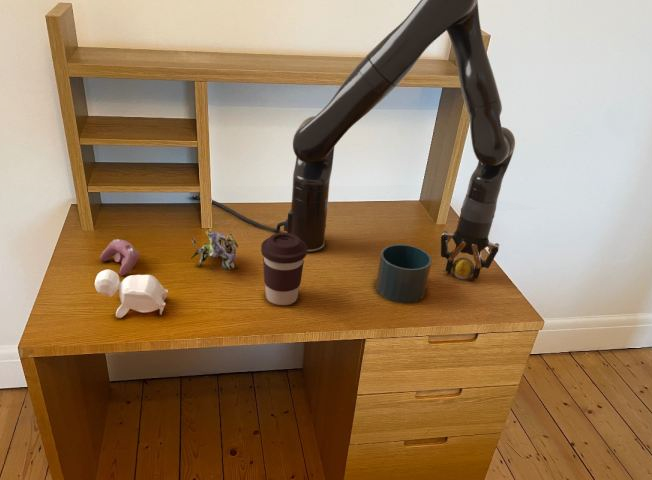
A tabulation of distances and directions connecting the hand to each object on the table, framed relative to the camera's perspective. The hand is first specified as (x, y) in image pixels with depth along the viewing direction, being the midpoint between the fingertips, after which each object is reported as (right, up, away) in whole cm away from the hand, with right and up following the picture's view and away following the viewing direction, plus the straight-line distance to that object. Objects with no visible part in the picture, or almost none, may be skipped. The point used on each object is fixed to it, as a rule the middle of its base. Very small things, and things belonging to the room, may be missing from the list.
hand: (461, 275), depth 145 cm
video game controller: (-83, +2, -5) cm, 83 cm away
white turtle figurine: (-76, -7, -18) cm, 79 cm away
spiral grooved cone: (0, -1, 0) cm, 1 cm away
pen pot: (-16, -3, -6) cm, 17 cm away
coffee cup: (-44, -5, -12) cm, 46 cm away
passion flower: (-61, +2, -2) cm, 61 cm away
